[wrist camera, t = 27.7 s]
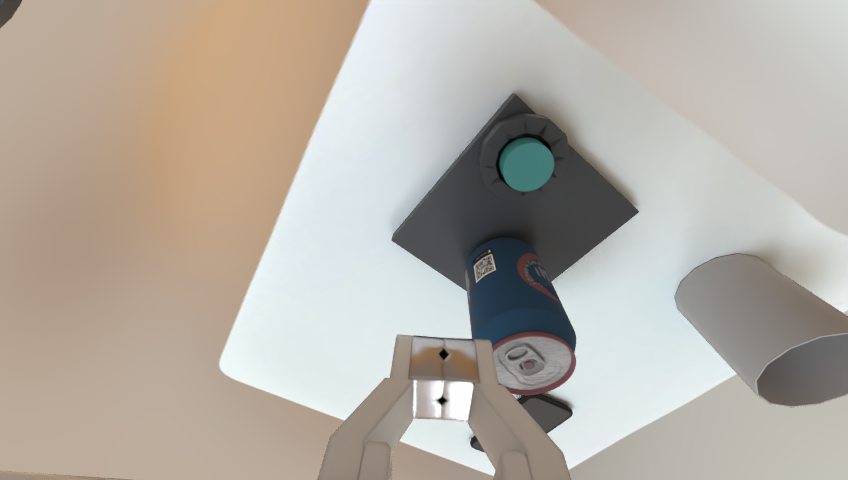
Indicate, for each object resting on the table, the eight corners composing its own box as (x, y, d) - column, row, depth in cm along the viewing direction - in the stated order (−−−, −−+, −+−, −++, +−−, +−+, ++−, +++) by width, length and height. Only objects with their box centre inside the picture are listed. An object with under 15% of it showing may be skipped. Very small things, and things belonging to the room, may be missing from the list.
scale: (392, 234, 32) (388, 250, 29) (515, 90, 25) (523, 94, 22) (504, 310, 36) (509, 330, 33) (635, 204, 29) (654, 219, 26)
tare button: (489, 164, 25) (492, 172, 24) (524, 126, 24) (529, 131, 22) (522, 192, 26) (527, 200, 25) (557, 157, 25) (565, 164, 23)
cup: (753, 238, 30) (879, 313, 21) (779, 292, 33) (900, 377, 24) (661, 285, 33) (738, 367, 24) (692, 330, 36) (772, 419, 27)
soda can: (551, 266, 31) (606, 373, 21) (492, 302, 34) (515, 413, 23) (509, 217, 29) (548, 310, 18) (449, 259, 31) (453, 362, 21)
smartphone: (467, 446, 48) (531, 394, 41) (466, 440, 49) (529, 388, 42) (508, 461, 50) (577, 413, 42) (507, 455, 50) (574, 407, 43)
